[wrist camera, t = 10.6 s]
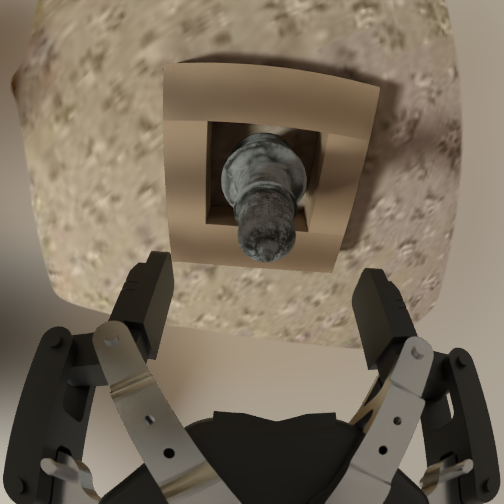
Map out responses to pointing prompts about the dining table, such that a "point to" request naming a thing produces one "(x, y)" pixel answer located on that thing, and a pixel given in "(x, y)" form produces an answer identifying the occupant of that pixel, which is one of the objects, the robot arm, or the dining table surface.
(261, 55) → the dining table surface
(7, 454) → the robot arm
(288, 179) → the grey tall tiered piece
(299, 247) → the tan picture frame
